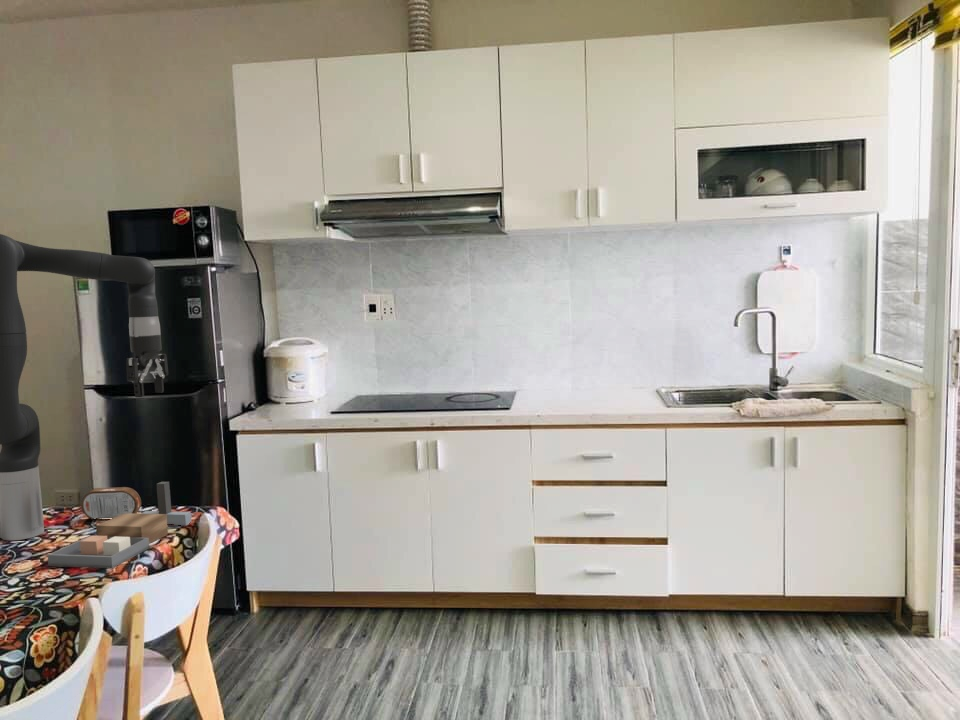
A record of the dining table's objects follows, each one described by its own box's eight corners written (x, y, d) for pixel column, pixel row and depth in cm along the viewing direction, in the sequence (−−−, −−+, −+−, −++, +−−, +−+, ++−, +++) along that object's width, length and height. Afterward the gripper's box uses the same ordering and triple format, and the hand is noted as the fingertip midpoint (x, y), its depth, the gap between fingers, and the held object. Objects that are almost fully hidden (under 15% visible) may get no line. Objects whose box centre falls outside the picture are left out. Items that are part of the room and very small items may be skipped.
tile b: (114, 536, 173) (115, 548, 173) (102, 542, 169) (103, 554, 169) (129, 536, 172) (130, 549, 172) (118, 542, 168) (119, 555, 169)
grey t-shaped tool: (140, 525, 194) (137, 483, 193) (146, 522, 197) (143, 481, 196) (186, 526, 192) (182, 484, 191) (191, 523, 194) (188, 481, 193)
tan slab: (97, 546, 178) (96, 525, 177) (125, 532, 187) (123, 513, 187) (142, 547, 175) (141, 526, 175) (168, 533, 185) (166, 514, 185)
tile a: (91, 535, 174) (92, 548, 174) (80, 541, 170) (81, 554, 170) (107, 535, 174) (108, 548, 174) (96, 541, 170) (97, 554, 170)
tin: (142, 515, 202) (140, 485, 202) (137, 519, 199) (135, 488, 198) (86, 518, 202) (84, 488, 201) (80, 521, 199) (78, 491, 198)
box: (48, 565, 165) (47, 555, 165) (89, 546, 178) (88, 536, 178) (112, 568, 162) (111, 557, 162) (149, 548, 175) (148, 537, 175)
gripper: (149, 332, 205) (153, 391, 206) (114, 336, 191) (119, 398, 192) (173, 332, 203) (178, 391, 205) (140, 335, 189) (145, 398, 191)
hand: (149, 394), depth 198 cm, fingers open, 8 cm apart
